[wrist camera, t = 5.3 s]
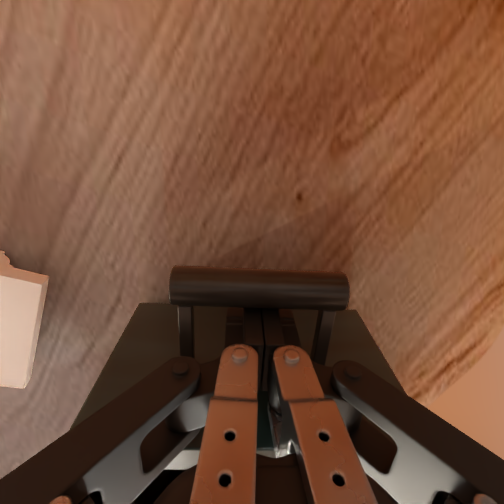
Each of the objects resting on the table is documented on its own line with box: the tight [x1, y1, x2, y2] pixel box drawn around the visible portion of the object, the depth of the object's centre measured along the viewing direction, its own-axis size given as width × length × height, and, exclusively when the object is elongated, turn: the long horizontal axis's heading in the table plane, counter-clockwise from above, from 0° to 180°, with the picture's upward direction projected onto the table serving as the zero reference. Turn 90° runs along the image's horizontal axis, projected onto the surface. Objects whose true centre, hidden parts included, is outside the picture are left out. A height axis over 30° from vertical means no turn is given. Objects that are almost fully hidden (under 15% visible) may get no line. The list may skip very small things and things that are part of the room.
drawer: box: [70, 265, 407, 504], centre depth 16 cm, size 20×13×9 cm
